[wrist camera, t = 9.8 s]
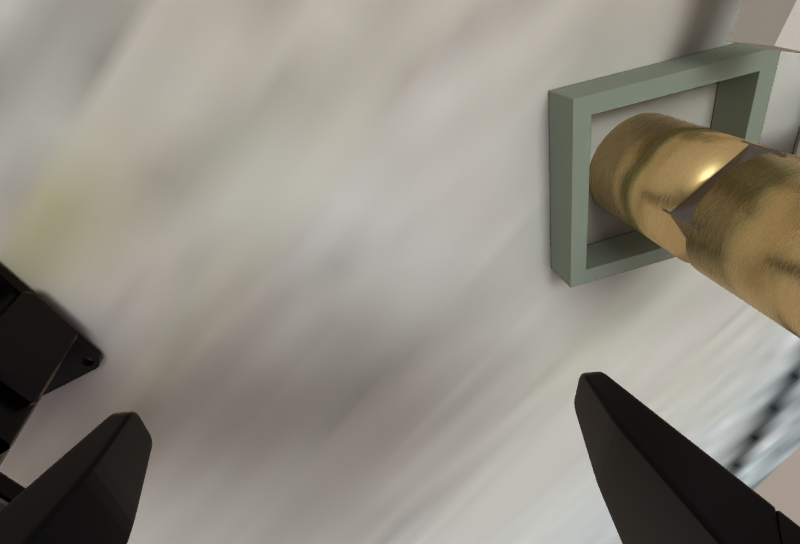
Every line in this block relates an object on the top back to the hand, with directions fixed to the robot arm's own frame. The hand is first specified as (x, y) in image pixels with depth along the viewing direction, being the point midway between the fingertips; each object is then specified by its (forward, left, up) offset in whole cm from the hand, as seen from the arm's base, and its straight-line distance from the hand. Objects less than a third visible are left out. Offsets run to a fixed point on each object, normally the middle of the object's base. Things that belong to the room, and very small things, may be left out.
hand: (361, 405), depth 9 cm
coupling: (+14, -6, -13) cm, 20 cm away
